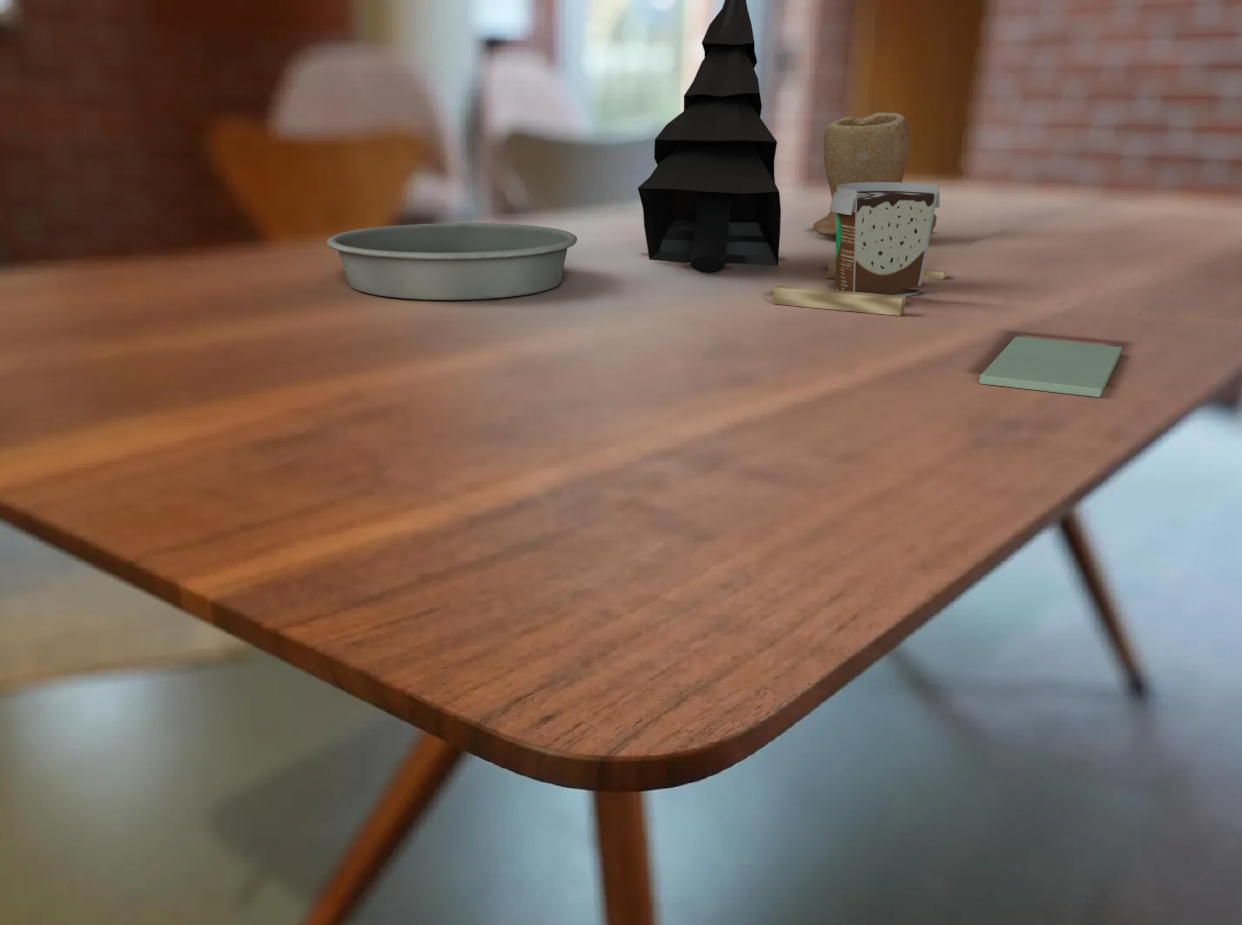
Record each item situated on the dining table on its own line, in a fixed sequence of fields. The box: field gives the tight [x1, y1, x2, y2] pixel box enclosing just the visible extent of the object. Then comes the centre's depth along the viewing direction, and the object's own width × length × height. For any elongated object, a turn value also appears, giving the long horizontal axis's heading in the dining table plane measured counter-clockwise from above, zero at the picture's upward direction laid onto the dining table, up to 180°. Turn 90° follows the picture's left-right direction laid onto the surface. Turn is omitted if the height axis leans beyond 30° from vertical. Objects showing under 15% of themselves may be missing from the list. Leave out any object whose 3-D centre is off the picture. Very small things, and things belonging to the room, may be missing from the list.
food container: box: [828, 182, 941, 297], centre depth 112 cm, size 12×6×10 cm, turn 126°
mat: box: [978, 336, 1123, 398], centre depth 86 cm, size 8×15×1 cm, turn 153°
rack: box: [772, 261, 948, 317], centre depth 114 cm, size 12×19×2 cm, turn 153°
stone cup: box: [812, 112, 938, 237], centre depth 147 cm, size 15×12×15 cm
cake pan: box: [326, 222, 578, 301], centre depth 117 cm, size 25×25×4 cm
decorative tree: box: [637, 0, 782, 274], centre depth 126 cm, size 15×15×35 cm
